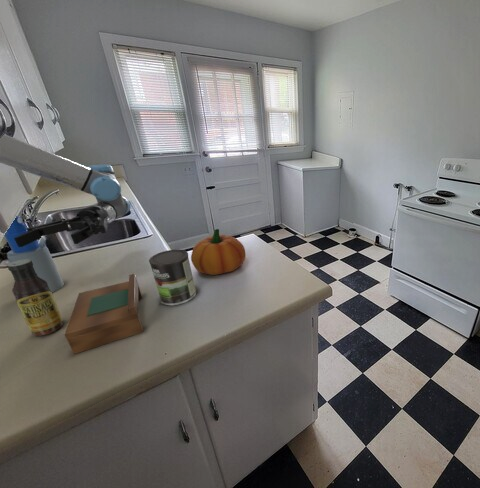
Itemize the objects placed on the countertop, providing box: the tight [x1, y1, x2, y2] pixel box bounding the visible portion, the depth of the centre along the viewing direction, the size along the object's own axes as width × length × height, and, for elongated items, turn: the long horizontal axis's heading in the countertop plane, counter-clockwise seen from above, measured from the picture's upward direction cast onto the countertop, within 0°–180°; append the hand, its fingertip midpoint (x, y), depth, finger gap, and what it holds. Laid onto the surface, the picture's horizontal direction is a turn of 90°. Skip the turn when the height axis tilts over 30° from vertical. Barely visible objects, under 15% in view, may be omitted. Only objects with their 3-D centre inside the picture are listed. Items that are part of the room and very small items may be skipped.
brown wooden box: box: [64, 273, 144, 355], centre depth 74 cm, size 14×20×8 cm
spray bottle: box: [3, 215, 65, 293], centre depth 85 cm, size 9×9×25 cm
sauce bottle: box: [6, 259, 64, 337], centre depth 68 cm, size 7×6×20 cm
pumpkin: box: [190, 228, 247, 276], centre depth 101 cm, size 19×19×15 cm
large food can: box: [148, 249, 197, 307], centre depth 83 cm, size 10×10×14 cm
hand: (46, 240), depth 72 cm, fingers open, 13 cm apart
